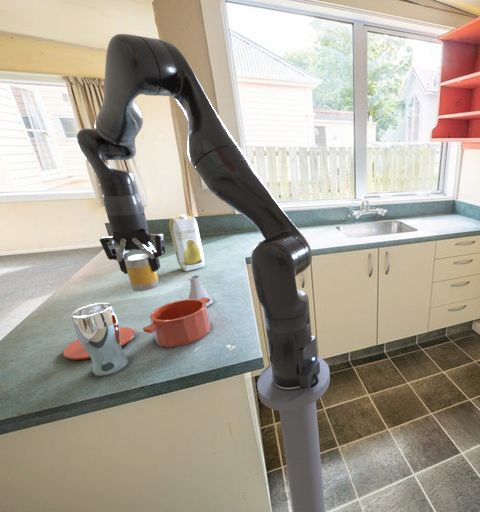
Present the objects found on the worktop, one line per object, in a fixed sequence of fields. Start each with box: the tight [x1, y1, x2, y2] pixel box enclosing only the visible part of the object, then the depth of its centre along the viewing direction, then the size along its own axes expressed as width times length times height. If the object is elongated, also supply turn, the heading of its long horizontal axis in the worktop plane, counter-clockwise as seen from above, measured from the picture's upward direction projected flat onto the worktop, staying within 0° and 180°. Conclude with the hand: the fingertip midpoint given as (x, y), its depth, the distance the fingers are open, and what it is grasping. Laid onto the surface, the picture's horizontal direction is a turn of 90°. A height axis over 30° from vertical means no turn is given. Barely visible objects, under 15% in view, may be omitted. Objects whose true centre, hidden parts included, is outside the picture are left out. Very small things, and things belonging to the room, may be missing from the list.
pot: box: [142, 297, 211, 348], centre depth 81 cm, size 13×18×8 cm
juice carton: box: [168, 214, 205, 272], centre depth 129 cm, size 9×8×24 cm
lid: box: [63, 326, 136, 361], centre depth 76 cm, size 14×14×6 cm
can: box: [124, 253, 160, 292], centre depth 82 cm, size 6×6×9 cm
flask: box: [188, 274, 214, 307], centre depth 97 cm, size 7×7×10 cm
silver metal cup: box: [70, 302, 129, 377], centre depth 66 cm, size 7×7×15 cm
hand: (142, 271), depth 82 cm, fingers closed on can, 6 cm apart
